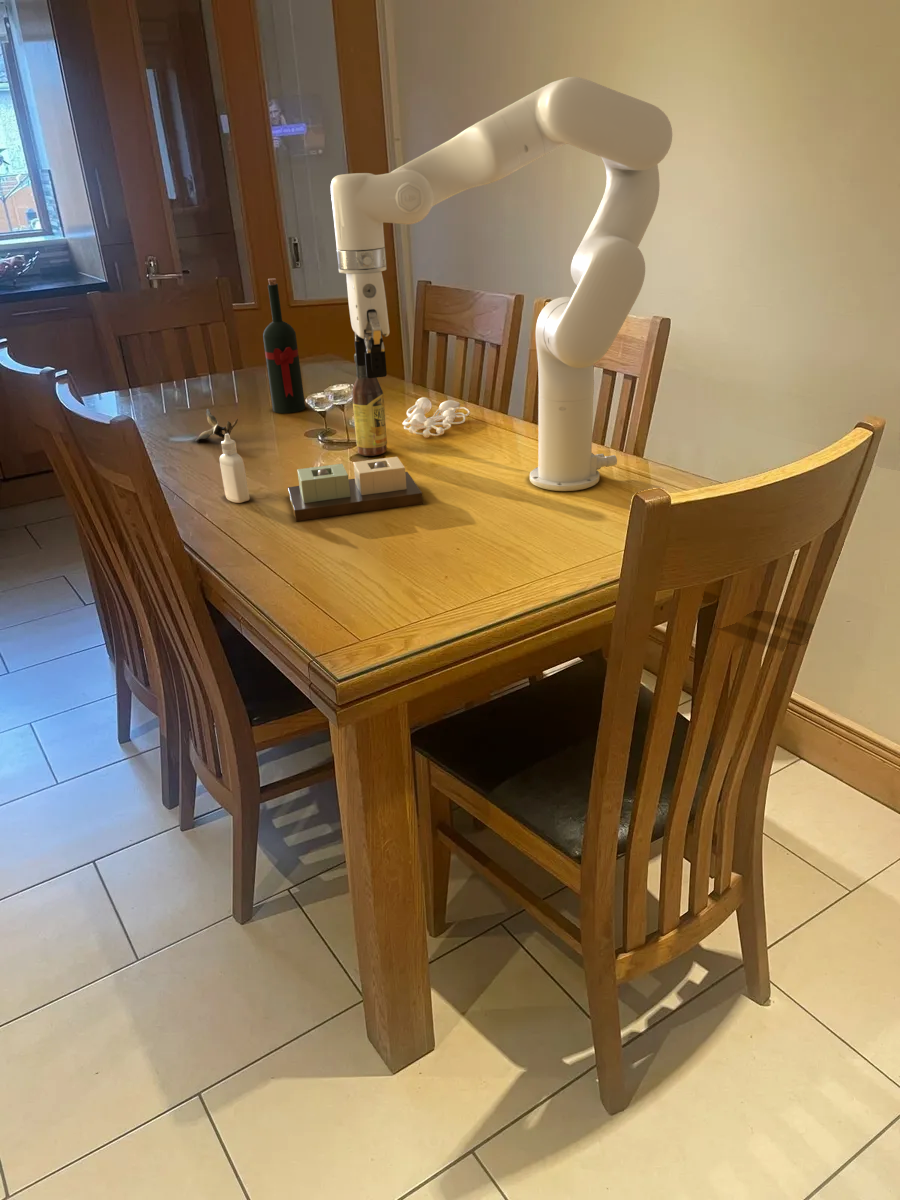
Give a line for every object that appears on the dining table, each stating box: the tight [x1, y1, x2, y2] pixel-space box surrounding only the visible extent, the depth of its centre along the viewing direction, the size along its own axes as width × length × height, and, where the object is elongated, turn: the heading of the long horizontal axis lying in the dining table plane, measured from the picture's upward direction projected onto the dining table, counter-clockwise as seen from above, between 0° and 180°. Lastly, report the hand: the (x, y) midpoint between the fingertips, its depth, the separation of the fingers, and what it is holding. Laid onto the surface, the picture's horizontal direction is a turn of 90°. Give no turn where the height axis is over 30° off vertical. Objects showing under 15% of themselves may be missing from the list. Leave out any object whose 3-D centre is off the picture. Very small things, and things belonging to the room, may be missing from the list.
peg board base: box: [287, 462, 424, 522], centre depth 151 cm, size 22×12×6 cm, turn 105°
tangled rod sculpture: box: [402, 396, 471, 439], centre depth 190 cm, size 19×14×4 cm
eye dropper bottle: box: [218, 433, 250, 504], centre depth 153 cm, size 4×6×12 cm
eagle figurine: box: [194, 408, 239, 442], centre depth 188 cm, size 8×7×9 cm
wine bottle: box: [262, 277, 306, 414], centre depth 202 cm, size 8×10×30 cm
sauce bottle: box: [351, 353, 388, 457], centre depth 172 cm, size 6×6×20 cm
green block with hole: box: [296, 463, 350, 503], centre depth 150 cm, size 8×6×4 cm
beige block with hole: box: [352, 456, 406, 495], centre depth 152 cm, size 8×6×4 cm
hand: (371, 370), depth 143 cm, fingers open, 9 cm apart
